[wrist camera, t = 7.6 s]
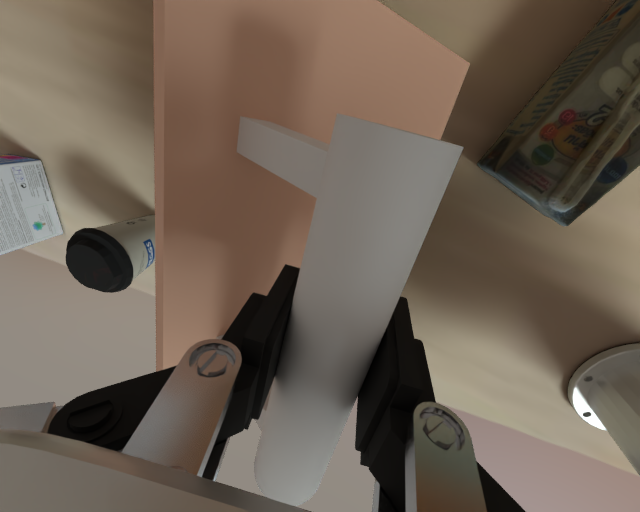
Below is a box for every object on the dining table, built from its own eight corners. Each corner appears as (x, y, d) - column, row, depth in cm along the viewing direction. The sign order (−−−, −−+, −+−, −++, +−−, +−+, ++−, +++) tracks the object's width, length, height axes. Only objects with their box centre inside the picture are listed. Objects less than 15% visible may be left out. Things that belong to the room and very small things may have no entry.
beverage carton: (468, 162, 28) (491, 174, 22) (684, -88, 20) (811, -175, 14) (534, 211, 29) (573, 234, 23) (770, -13, 21) (926, -66, 15)
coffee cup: (124, 232, 39) (46, 267, 30) (146, 193, 36) (67, 217, 27) (168, 268, 40) (106, 311, 31) (193, 232, 37) (132, 268, 28)
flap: (454, 62, 18) (636, 79, 13) (353, 333, 27) (435, 407, 22) (151, -131, 7) (512, -505, 2) (156, 423, 16) (224, 607, 11)
